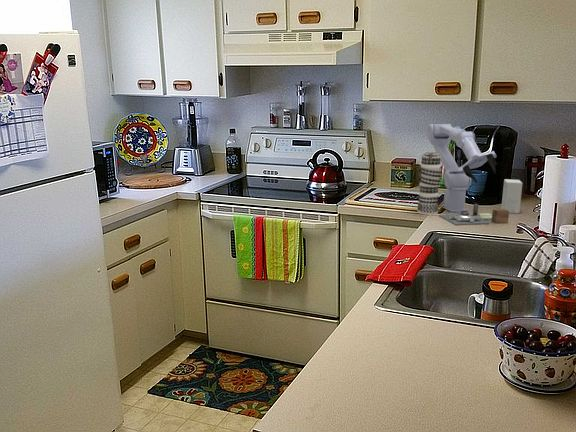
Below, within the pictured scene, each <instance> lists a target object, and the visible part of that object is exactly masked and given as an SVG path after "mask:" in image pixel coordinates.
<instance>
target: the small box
mask: <svg viewBox="0 0 576 432" xmlns="http://www.w3.org/2000/svg"><path fill="white" fill-rule="evenodd" d="M523 184H524V183H523V182H522V181H521V180H520V179H509V178H505V179H504V180H503V187H502V188H503V189H502V199H501V207H500V209H506V210H508V211H509V214H520V211H521V204H522V203H521V200H522V193H523Z"/></svg>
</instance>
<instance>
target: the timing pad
mask: <svg viewBox="0 0 576 432" xmlns="http://www.w3.org/2000/svg"><path fill="white" fill-rule="evenodd" d="M479 214H480V217H481V219H483V220H486V221H487V220H491V221H492V213H489V212H486V213H479Z"/></svg>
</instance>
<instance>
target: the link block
mask: <svg viewBox="0 0 576 432" xmlns="http://www.w3.org/2000/svg"><path fill="white" fill-rule="evenodd" d="M491 215H492V220H491V223H494V224H497V225H498V224H508V223H509V218H510V217H509V216H510V213H509V211H508V210H506V209H501V208H493V209H492V213H491Z"/></svg>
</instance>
